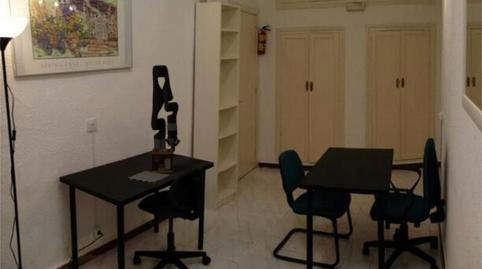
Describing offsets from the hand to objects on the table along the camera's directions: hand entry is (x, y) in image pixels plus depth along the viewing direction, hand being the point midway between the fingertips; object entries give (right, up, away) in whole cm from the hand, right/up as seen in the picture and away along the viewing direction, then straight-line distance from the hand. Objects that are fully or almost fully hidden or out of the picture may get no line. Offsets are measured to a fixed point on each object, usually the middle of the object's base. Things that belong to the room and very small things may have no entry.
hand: (173, 151), depth 358 cm
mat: (-14, -17, -23) cm, 31 cm away
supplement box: (-6, -14, -9) cm, 18 cm away
